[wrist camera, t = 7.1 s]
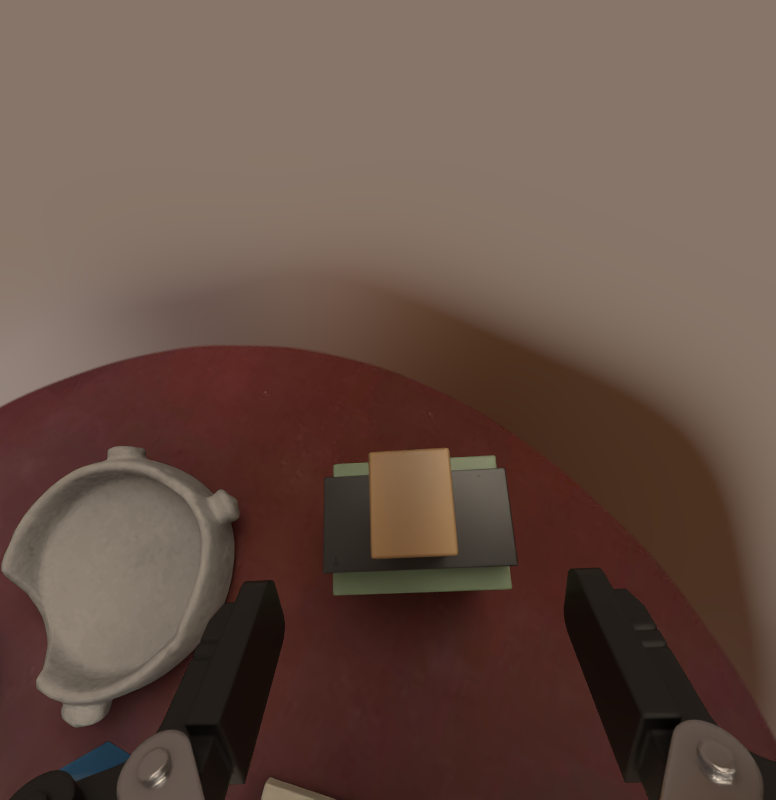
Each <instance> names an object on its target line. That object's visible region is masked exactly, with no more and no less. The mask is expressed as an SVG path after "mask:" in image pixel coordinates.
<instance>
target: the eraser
mask: <svg viewBox="0 0 776 800" xmlns="http://www.w3.org/2000/svg"><path fill="white" fill-rule="evenodd" d="M368 458H369V475H361V476H342V477H325V478H324V549H323V573H348V572H374V571H399V570H425V569H451V568H476V567H502V566H518V561H517V553H516V546H515V538H514V531H513V523H512V516H511V508H510V501H509V494H508V486H507V479H506V471H505V468H491V469H472V470H453V471H451V464H450V453H449V449H448V448H435V449H417V450H400V451H383V452H371V453H369V455H368Z"/></svg>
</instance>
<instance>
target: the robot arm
mask: <svg viewBox="0 0 776 800" xmlns="http://www.w3.org/2000/svg"><path fill="white" fill-rule="evenodd" d="M564 618H565V624H566V628H567V632H568V635H569V637H570V640H571V642H572V645H573V648H574V650H575V653H576V656H577V658H578V661H579V663H580V666H581V669H582V671H583V674H584V676H585V679H586V682H587V684H588V687H589V689H590V692H591V695H592V697H593V700H594V703H595V705H596V708H597V710H598V713H599V716H600V718H601V721H602V723H603V726H604V729H605V731H606V734H607V737H608V739H609V742H610V744H611V747H612V750H613V752H614V755H615V757H616V760H617V763H618V765H619V768H620V771H621V773H622V776H623V778H624V781H625V783H640V782H642V784H643V786H644V789H645V791H646V794H647V796H648V798H649V800H776V762H775V761H771V760H768V759H766V758H763V757H760V756H758V755H756V754H754V753H752V752H750V751H748V750H747V749H746V748H745V747H744V746H743V745H742V744H741V743H740V742H739V741H738V740H737V739H736V738H735V737H733V736H732V735H731V734H729V733H728V732H726V731H725V730H723V729H721V728H720V727H719V726H718V725H717V724H716V723H715V722H714V720H713V719H712V718H711V716H710V715H709V713H708V711H707V710H706V708H705V706H704V705H703V703H702V701H701V700H700V698H699V696H698V695H697V693H696V691H695V690H694V688H693V686H692V685H691V683H690V681H689V680H688V678H687V676H686V675H685V673H684V671H683V670H682V668H681V666H680V665H679V663H678V661H677V660H676V658H675V656H674V655H673V653H672V651H671V649H670V648H668V647H667V643H666V641H665V639H664V638H663V636H662V634H661V633H660V631H659V630H657V626H656V624H655V623H654V621H653V619H652V618H651V616H650V614H649V613H648V611H647V609H646V608H645V606H644V605H643V604H642V603H641V602H640V601H639V600H638V599H636V598H635V597H634V596H633V595H632V594H631V593H630V592H629V591H628V590H627V589H613V588H612V586H611V584H610V583H609V581H608V579H607V577H606V575H605V573H604V572H603V571H602V569H600V568H579V569H570V570H569V572H568V578H567V586H566V595H565V603H564ZM284 632H285V621H284V615H283V611H282V608H281V604H280V601H279V597H278V593H277V590H276V586H275V583H274V581H272V580H264V581H246V582H244V583H243V585H242V586H241V589H240V591H239V593H238V596H237V598H236V601H235V603H224V604H223V605H222V606H221V607H220V609H219V610H218V611H217V612H216V613H215V614H214V615H213V617H212V618H211V619H210V620H209V622H208V624H207V626H206V628H205V631H204V633H203V635H202V637H201V639H200V640H201V641H200V644H198V646H197V648H196V650H195V652H194V655H193V660H191V661H190V663H189V666H188V668H187V670H186V672H185V674H184V676H183V679H182V681H181V683H180V685H179V687H178V690H177V692H176V694H175V696H174V698H173V700H172V703H171V705H170V707H169V709H168V711H167V713H166V716H165V718H164V720H163V722H162V724H161V726H160V728H159V729H158V731H157V732H156V734H155V735H153V736H151V737H149V738H148V739H147V740H145V741H144V742H143V743H142V744H140V745H139V746H138V747H137V748H136V749H135V751H134V752H133V753H132V754H131V755H130V757H129V758H128V760H127V761H125V762H123V763H121V764H119V765H117V766H114V767H112V768H109V769H106V770H104V771H101V772H99V773H96V774H93V775H91V776H88V777H85V778H83V779H80V780H78V781H75V780H74V779H73V778H72V776H71V775H70V774H69V773H67V772H66V771H62V770H55V771H50V772H47V773H44V774H42V775H40V776H38V777H36V778H34V779H33V780H31V781H29V782H28V783H27V784H25V785H24V786H23V787H22V788H21V789H19V790H18V791H17V792H16V793H15V794H14V795H13V796H12V797H11V798H10V799H9V800H224V799H225V796H226V792H227V789H228V786H229V784H245V781H246V777H247V774H248V770H249V766H250V762H251V759H252V755H253V751H254V748H255V744H256V740H257V736H258V733H259V729H260V725H261V722H262V718H263V714H264V710H265V707H266V703H267V699H268V696H269V692H270V688H271V685H272V681H273V677H274V673H275V670H276V666H277V662H278V659H279V655H280V651H281V647H282V644H283V639H284Z"/></svg>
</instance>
